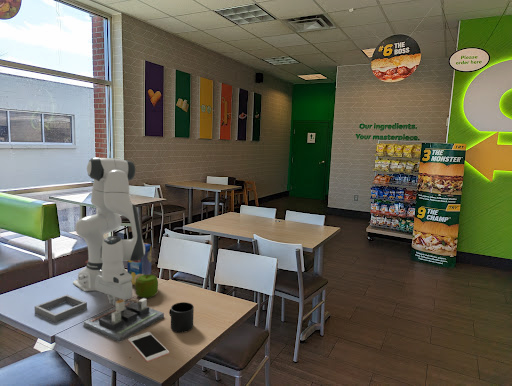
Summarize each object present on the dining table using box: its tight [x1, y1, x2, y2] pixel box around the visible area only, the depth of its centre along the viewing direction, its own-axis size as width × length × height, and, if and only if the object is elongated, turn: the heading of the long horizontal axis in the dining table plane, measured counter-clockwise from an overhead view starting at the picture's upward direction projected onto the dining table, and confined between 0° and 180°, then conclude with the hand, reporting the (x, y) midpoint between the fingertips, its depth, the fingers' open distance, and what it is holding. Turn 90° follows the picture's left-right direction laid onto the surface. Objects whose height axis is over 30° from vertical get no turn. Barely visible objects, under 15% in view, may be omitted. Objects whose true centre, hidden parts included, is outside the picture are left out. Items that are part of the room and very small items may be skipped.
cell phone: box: [127, 331, 170, 363], centre depth 134 cm, size 9×18×1 cm, turn 41°
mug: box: [168, 301, 195, 334], centre depth 149 cm, size 9×12×9 cm
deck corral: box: [34, 294, 88, 323], centre depth 158 cm, size 15×15×3 cm
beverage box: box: [126, 242, 152, 286], centre depth 192 cm, size 7×11×22 cm, turn 61°
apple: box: [134, 274, 159, 299], centre depth 178 cm, size 11×11×11 cm
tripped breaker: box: [115, 298, 126, 311], centre depth 152 cm, size 2×3×5 cm, turn 151°
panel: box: [83, 298, 165, 343], centre depth 151 cm, size 22×24×8 cm
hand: (113, 304), depth 154 cm, fingers closed
